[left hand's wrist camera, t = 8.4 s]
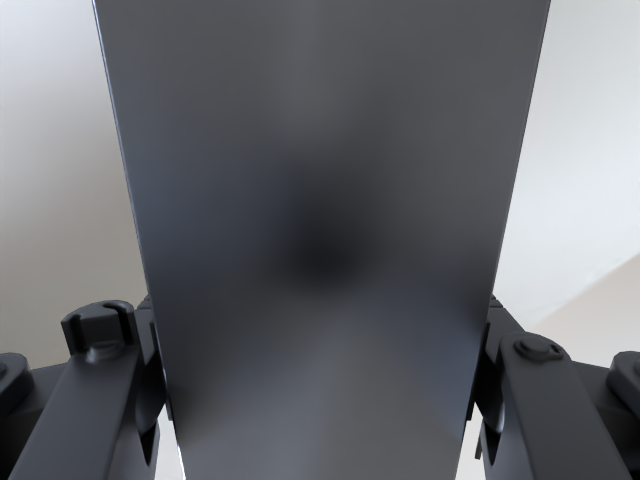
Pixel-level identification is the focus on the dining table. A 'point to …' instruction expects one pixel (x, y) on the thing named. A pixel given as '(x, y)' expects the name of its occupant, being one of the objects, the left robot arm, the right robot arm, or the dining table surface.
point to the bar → (320, 219)
